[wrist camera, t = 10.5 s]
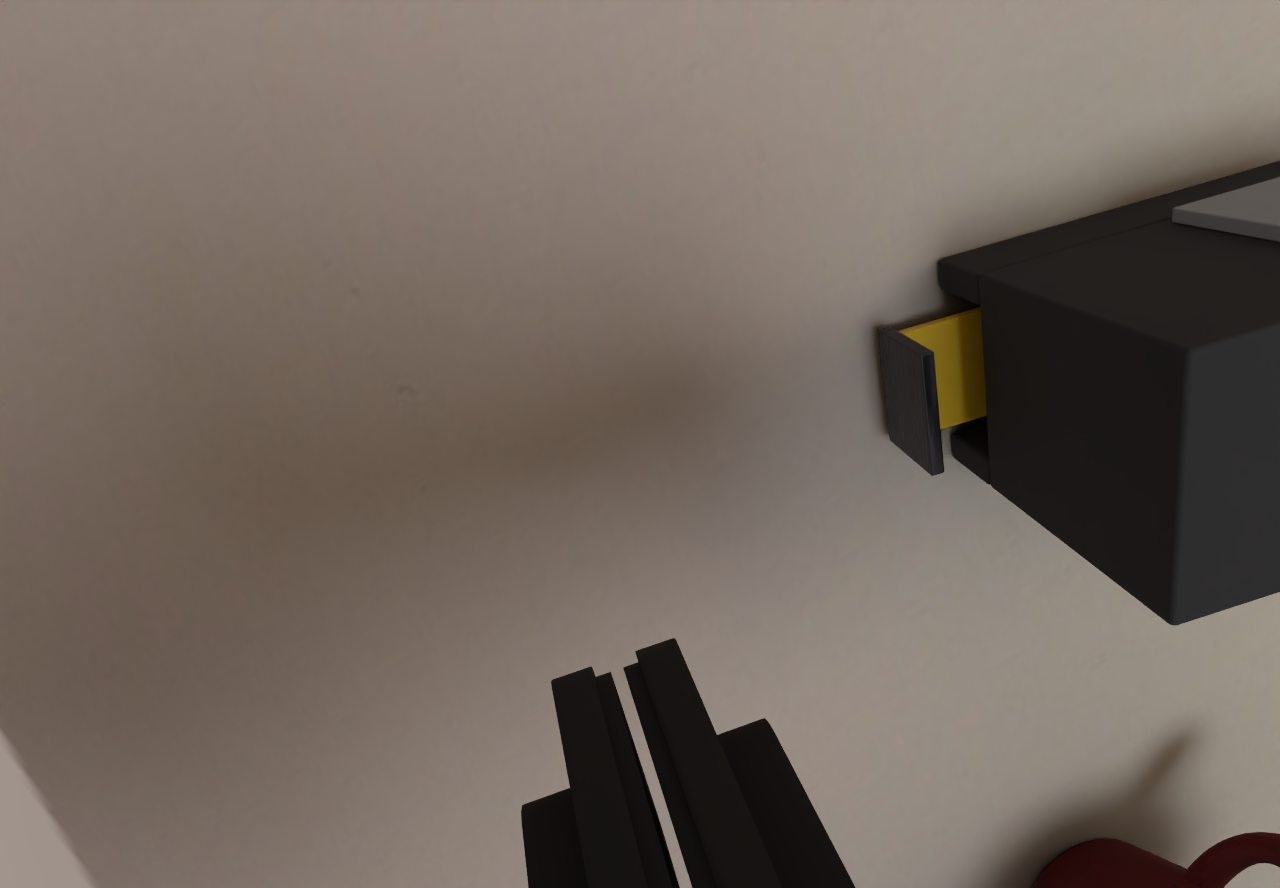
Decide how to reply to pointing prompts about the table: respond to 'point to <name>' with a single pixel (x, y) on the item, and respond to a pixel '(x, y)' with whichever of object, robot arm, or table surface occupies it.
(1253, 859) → the mug
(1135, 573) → the tape case
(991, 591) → the table surface
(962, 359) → the tape blade
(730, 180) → the table surface
